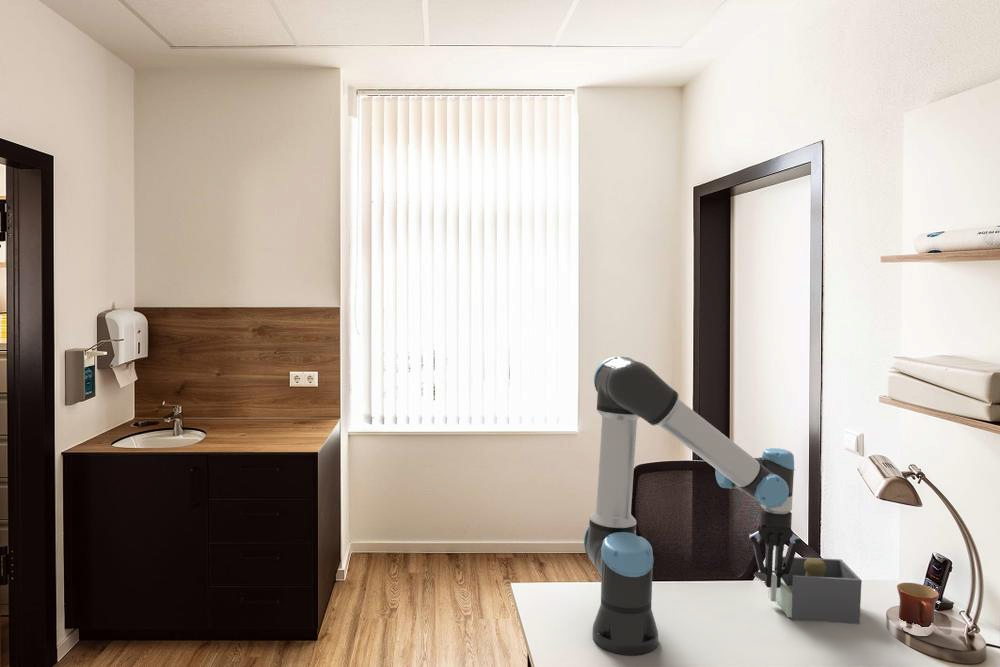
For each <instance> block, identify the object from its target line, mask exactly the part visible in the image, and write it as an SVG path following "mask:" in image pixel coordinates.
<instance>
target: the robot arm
mask: <svg viewBox="0 0 1000 667" xmlns="http://www.w3.org/2000/svg"><path fill="white" fill-rule="evenodd" d="M593 384H594V388H595V391H596V393H597V395H596V397H597V398H596V411H597V413H598V414H600V416H601V428H600V429H601V430H600V444H599V447H600V448H599V462H598V463H599V464H598V478H597V496H596V506H595V507H596V509H595V511H593V512H592V513H591V514H590V515H589V522H588V523H589V524H588V527H587V528H586V529H585V531H584V537H583V546H584V551H585V553H586V556H587V558H588V560H589V561H590V562H591V563H592V565H593V566H594V567H595V569H596V571H597V573H598V574H599V575H600V580H601V581H600V583H601V584H600V605H599V608H598V611H597V613H596V616H595V619H594V621H593V624H592V639H593V641H594V643H595V644H596V645H597V646H599V647H600V648H602V649H603V650H606V651H608V652H611V653H615V654H619V655H627V656H636V655H644V654H647V653H650V652H652V651H654V650H656V648H657V647H658V645H659V631H658V630H659V629H658V628H657V624H656V621H655V616H654V613H653V610H652V600H653V599H652V597H653V596H652V595H653V594H652V593H653V568H654V566H653V565H654V562H655V560H654V555H653V553H654V552H653V547H652V545H651V544H650V542H649V541H648V540H647V539H646V538H645V537H643V536H641V535H640V536H639V535H637V520H636V518H635V517H634V516H633V515H632V501H633V500H632V499H633V488H634V487H633V485H634V484H633V483H634V469H635V456H636V455H635V454H636V441H637V428H638V420H639V418H641V419H643V420H644V421H646V422H647V423H649V425H651V426H659V427H661V428H662V429H664V431H666V432H667V433H668V434H669V435H671V436H672V437H674V439H676V440H678V441H679V442H680V443H682V444H683V445H684V446H685V447H687V448H688V449H689V450H691V451H692V452H693V453H695V455H697V456H698V457H699V458H701V459H702V460H703V461H705V462H706V463H707V464H709V465H710V466H712V467H713V468H714V470H715V473H714V474H715V479H716V482H717V484H718V486H719V487H720V488H723V489H730V490H732V489H737V490H739V491H741V492H742V493H744V494H745V495H748V496H750V498H752V499H753V500H755V501H757V503H759V504H760V507H761V508H760V513H759V514H760V516H759V526H758V527H757V530H756V532H754V533H748V537H749V539H750V541H751V542H752V547H753V551H754V552H753V553H754V556H755V561H756V564H757V565H756V566H757V568H758V570H759V572H761V573H765V583H764V584H765V587H766V588H768V591H767V593H768V595H767V597H768V599H769V600H770V602H777V600H776V590H777V588H780V586H781V577H782V576H783V574H789V571H790V568H791V565H792V562H793V559H794V557H796V556H795V555H796V552H797V549H798V548H799V547H800V545H801V544H802V542H803V541H802V540H801V538H800V536H798V535H796V534H794V531H793V530H792V516H793V513H792V512H791V511H792V510H793V493H794V476H795V475H794V474H795V471H796V470H795V456H794V454H793V452H791V451H789V450H787V449H783V448H773V447H770V448H769V447H768V448H765V449H763V451H762V456H761V457H753V456H752V455H751V454H750V453H748V452H747V451H745V450H744V449H743V448H742V447H741V446H739V445H738V444H737V443H735V442H734V441H732V440H731V439H730V438H729V437H728V436H726V435H725V434H723V433H722V432H721V431H720V430H719V429H717V428H716V427H715V426H714V425H712V424H711V423H709V421H707V420H706V419H705V418H704V417H702V416H701V415H699V413H697V412H696V411H695V410H693V409H692V408H690V407H689V406H688V405H687V404H686V403H684V402H683V401H681V400H680V394H679V393H678V392H677V391H676V390H675V389H673V387H671V385H669V384H668V383H667V382H665V381H664V380H663V379H662V378H661V376H659V375H658V374H657V373H656V372H655V371H654V370H653V369H652V368H650V367H649V366H648V365H646V364H645V363H644V362H640V361H636V360H634V359H632V358H630V357H627V356H613V357H609V358H607V359H605V360H603V361H601V363H600V364H599V365H598V366H597V367H596V369H595V372H594V378H593ZM760 537H761V539H762V540H763V542H764V543H765V544H764V545H765V557H764V558H765V561H764V558H763V555H762V551H761V546H760V544H759V542H760V540H761V539H760ZM789 541H790V542H789ZM787 542H789V544H788V547H787V550H786V553H785V559H784V562H783V556H784V551H785V545H787ZM774 549H775V551H774ZM774 552H775V553H774ZM774 554H775V556H774ZM773 560H774V562H773ZM782 562H783V565H782ZM773 563H774V568H773ZM773 569H774V570H773ZM772 571H775V573H772Z"/></svg>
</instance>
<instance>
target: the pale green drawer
mask: <svg viewBox="0 0 1000 667" xmlns="http://www.w3.org/2000/svg"><path fill="white" fill-rule="evenodd" d="M792 598H793V594H792V586H787V585H786V584H785V582H784V581H783V579H782V578H781V586H780V588H777V590H776V602H777V603H778V605H779V606H780V608H781V609H782V611H783V612H784V614H785V615H786V617H787V618H791V617H792Z"/></svg>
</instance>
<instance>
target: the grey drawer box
mask: <svg viewBox="0 0 1000 667" xmlns="http://www.w3.org/2000/svg"><path fill="white" fill-rule="evenodd" d="M785 556H786V555H785ZM785 556H784V555H783V562H784V559H785ZM809 558H810V557H802V556H801V557H799V556H794V559H793V562H792V565H791V568H790V571H789V574H783V576H782V577H781V578H782V579H783V581H784V582H785V584H786V585H787V586H792V594H793V598H792V617H790V619H791V620H792V621H806V622H823V623H836V624H837V623H841V624H857V625H860V623H861V621H860V620H861V618H860V617H861V600H862V598H861V597H862V579H861V578H860V577H859V576H858V574H856V573H855V572H854V571H853V570H852V569H851V568H850V567H849V566H848V565H847V564H846V562H844V561H843V559H839V558H838V559H837V558H821V557H820V558H819V557H815V558H816V559H820V560H822V561H823V562H825V564H826V572H825V573H824V577H815V576H805V575H806V570H805V568H804V563H805V561H806V560H807V559H809ZM783 562H782V565H783Z"/></svg>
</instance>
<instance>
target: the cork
mask: <svg viewBox="0 0 1000 667" xmlns="http://www.w3.org/2000/svg"><path fill="white" fill-rule="evenodd" d="M808 558H809V559H807V560H806V561H805V563H804V568H805V570H806V575H805V576H815V577H824V573H825V572H826V564H825V562H823V561H822V560H820V559H816V558H817V557H808Z"/></svg>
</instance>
